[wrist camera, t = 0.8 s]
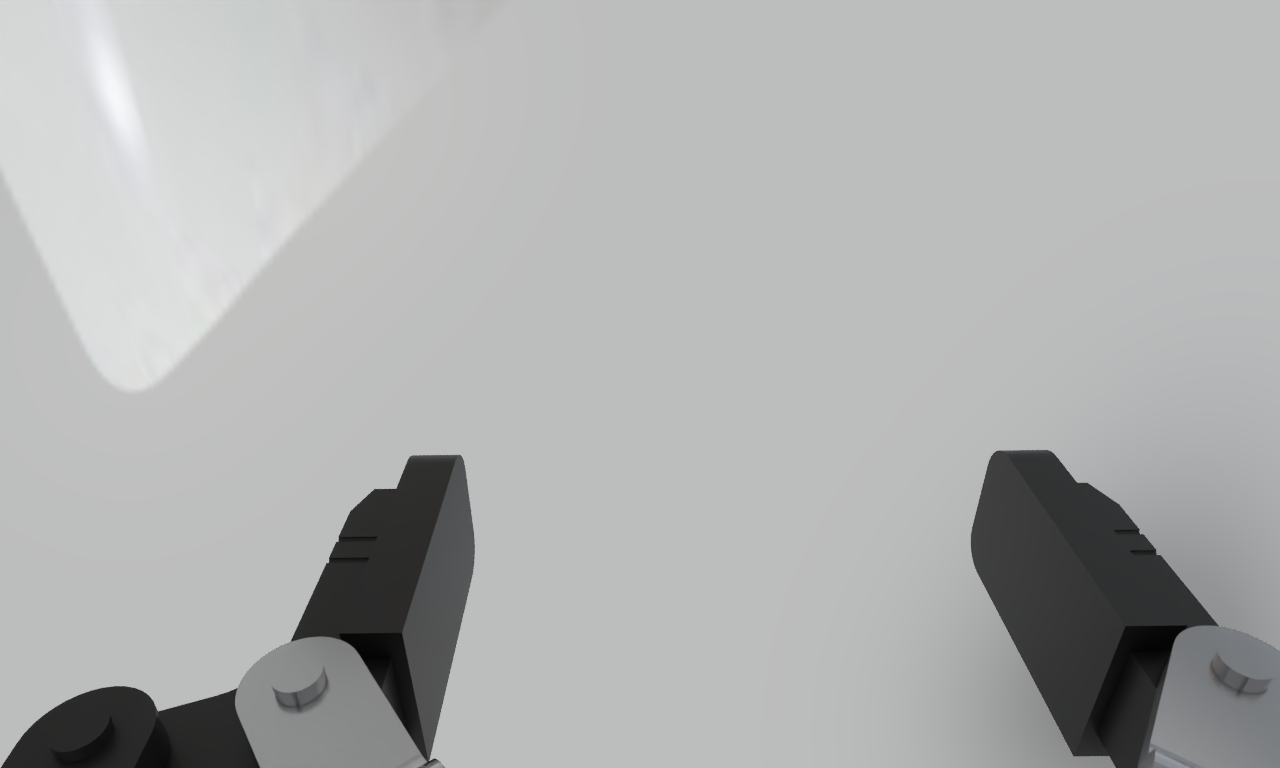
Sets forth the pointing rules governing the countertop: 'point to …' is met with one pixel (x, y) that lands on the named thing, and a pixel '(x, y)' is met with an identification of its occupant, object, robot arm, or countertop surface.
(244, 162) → the countertop surface
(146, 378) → the countertop surface
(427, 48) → the countertop surface
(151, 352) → the countertop surface
